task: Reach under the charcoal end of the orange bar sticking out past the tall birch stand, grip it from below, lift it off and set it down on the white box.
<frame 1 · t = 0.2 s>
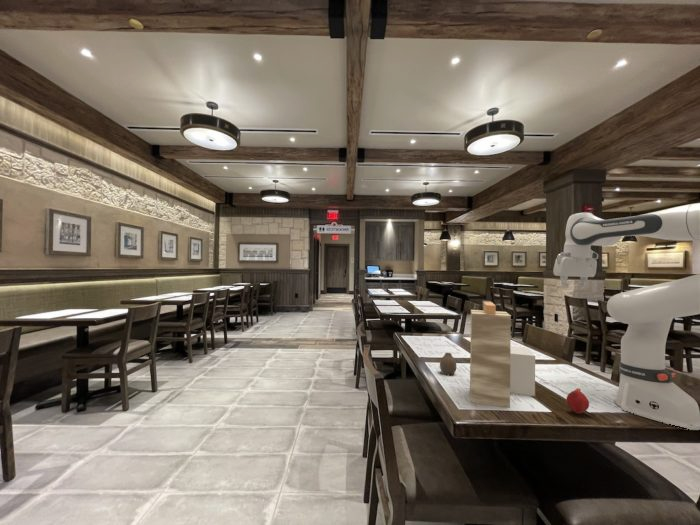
hand: (573, 287, 131), 39 cm above the table, tool pointing down, fingers open, 8 cm apart
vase: (447, 374, 140), on the table
white box: (513, 388, 124), on the table
tall stand: (488, 397, 114), on the table
onion: (577, 414, 103), on the table
orange bar: (488, 311, 119), point 30 cm above the table, touching tall stand
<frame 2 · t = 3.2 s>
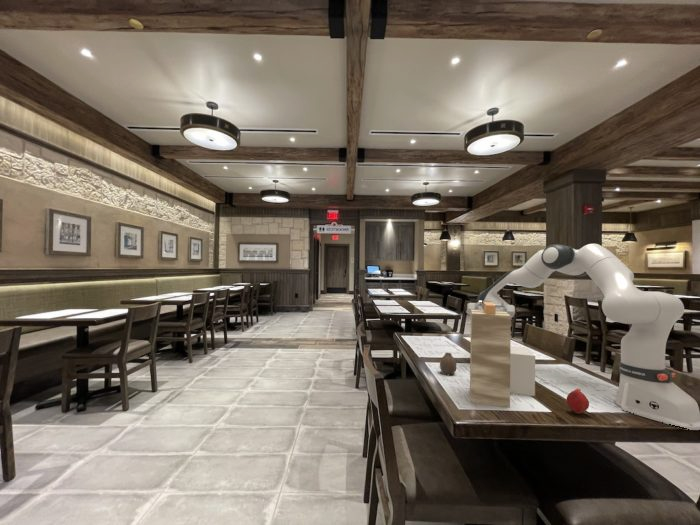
hand: (491, 303, 144), 31 cm above the table, tool pointing upward, fingers open, 8 cm apart
nothing on the table moved.
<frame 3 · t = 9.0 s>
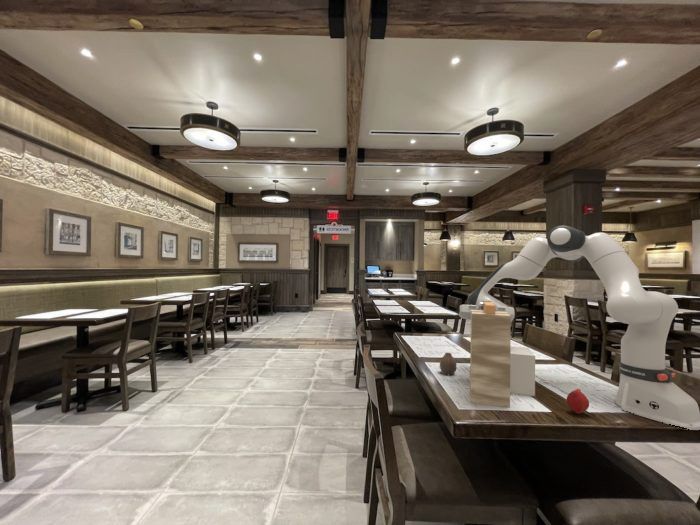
hand: (487, 304, 124), 32 cm above the table, tool pointing upward, fingers closed on orange bar, 3 cm apart
orange bar: (488, 311, 119), point 30 cm above the table, touching gripper, tall stand
everything else where it was.
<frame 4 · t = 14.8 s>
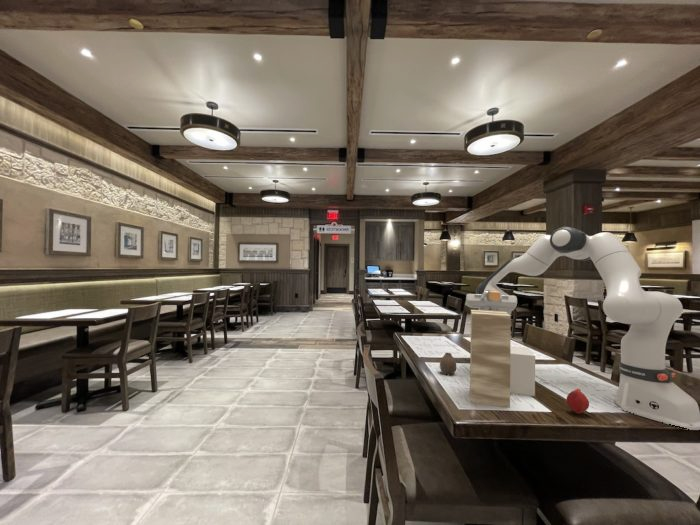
hand: (492, 293, 134), 36 cm above the table, tool pointing upward, fingers closed on orange bar, 3 cm apart
orange bar: (493, 298, 129), point 34 cm above the table, touching gripper
everything else where it was.
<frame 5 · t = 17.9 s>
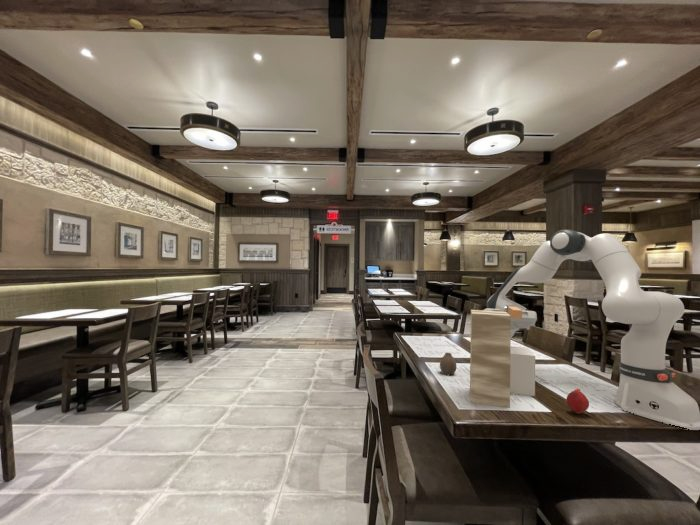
hand: (511, 308, 132), 30 cm above the table, tool pointing upward, fingers closed on orange bar, 3 cm apart
orange bar: (513, 315, 127), point 28 cm above the table, touching gripper
everything else where it was.
when the fingers open (19 cm above the table, at t = 20.5 s): orange bar drops 3 cm, resting on white box.
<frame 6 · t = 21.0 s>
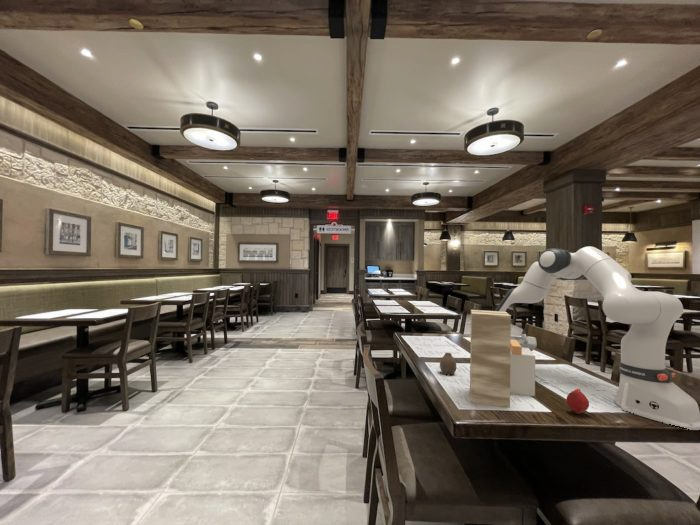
hand: (511, 335, 132), 19 cm above the table, tool pointing upward, fingers open, 8 cm apart
orange bar: (513, 348, 127), point 14 cm above the table, touching white box
everything else where it was.
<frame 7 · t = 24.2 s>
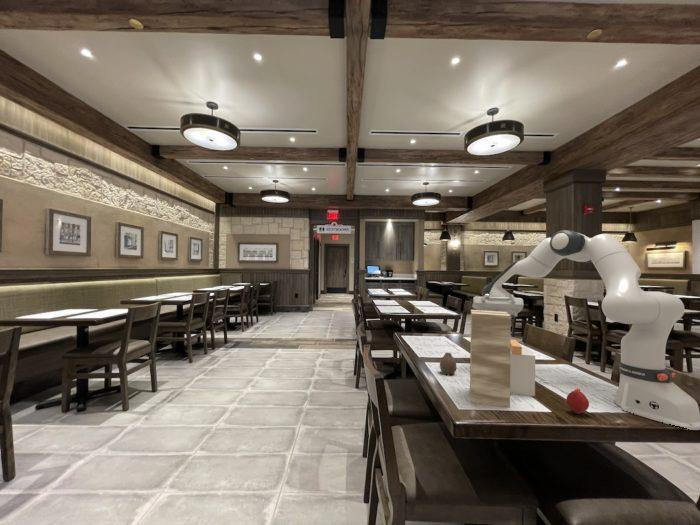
hand: (499, 295, 138), 34 cm above the table, tool pointing upward, fingers open, 8 cm apart
nothing on the table moved.
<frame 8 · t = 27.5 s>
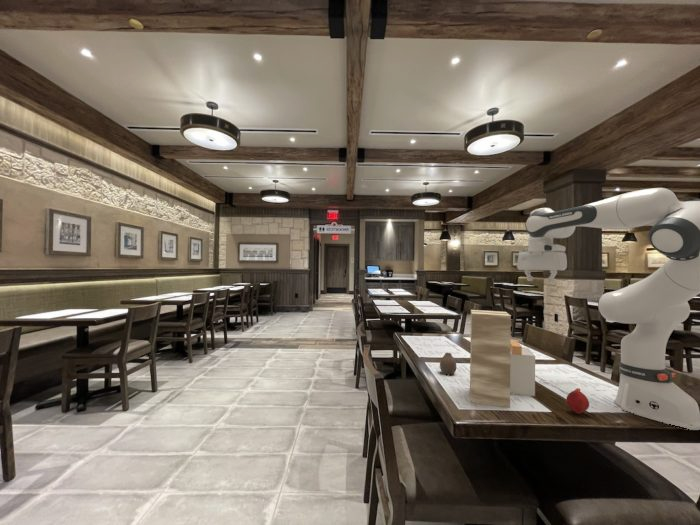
hand: (540, 281, 134), 41 cm above the table, tool pointing down, fingers open, 8 cm apart
nothing on the table moved.
at the end: orange bar touching white box; orange bar point 14.5 cm above the table; the gripper is holding nothing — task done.
